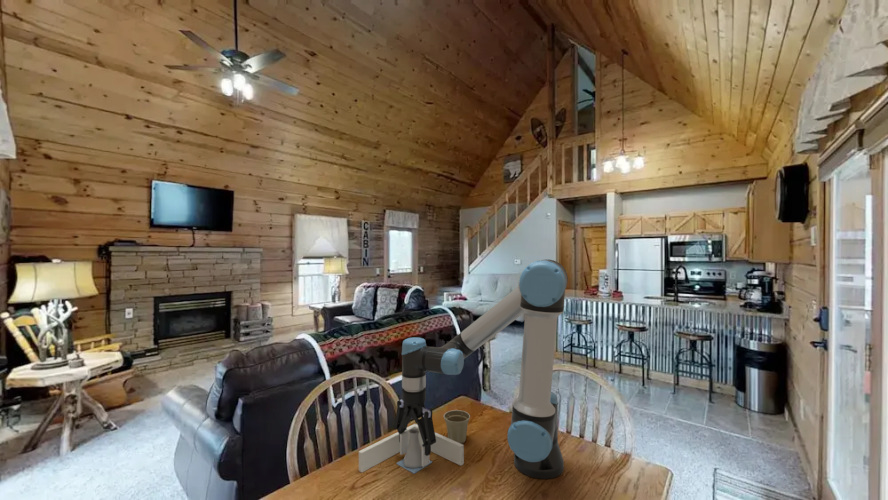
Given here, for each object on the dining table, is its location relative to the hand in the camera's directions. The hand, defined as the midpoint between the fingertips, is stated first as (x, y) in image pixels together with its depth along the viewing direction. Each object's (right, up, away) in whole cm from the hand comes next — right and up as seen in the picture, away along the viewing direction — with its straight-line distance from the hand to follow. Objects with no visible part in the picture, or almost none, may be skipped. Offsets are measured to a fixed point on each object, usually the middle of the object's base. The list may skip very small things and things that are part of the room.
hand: (414, 458), depth 119 cm
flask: (0, -1, 0) cm, 1 cm away
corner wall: (-1, -2, -2) cm, 3 cm away
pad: (0, -2, 0) cm, 2 cm away
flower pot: (+14, -2, +14) cm, 20 cm away
